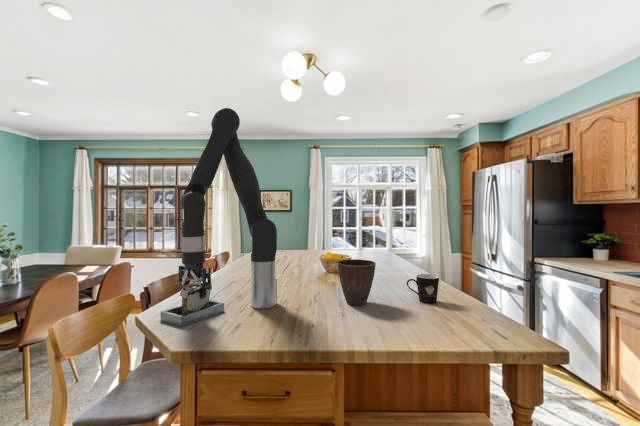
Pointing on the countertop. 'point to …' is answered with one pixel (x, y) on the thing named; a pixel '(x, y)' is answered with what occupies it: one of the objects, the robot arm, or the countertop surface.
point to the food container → (193, 298)
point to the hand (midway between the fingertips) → (194, 296)
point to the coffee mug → (426, 288)
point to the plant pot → (356, 280)
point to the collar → (191, 314)
